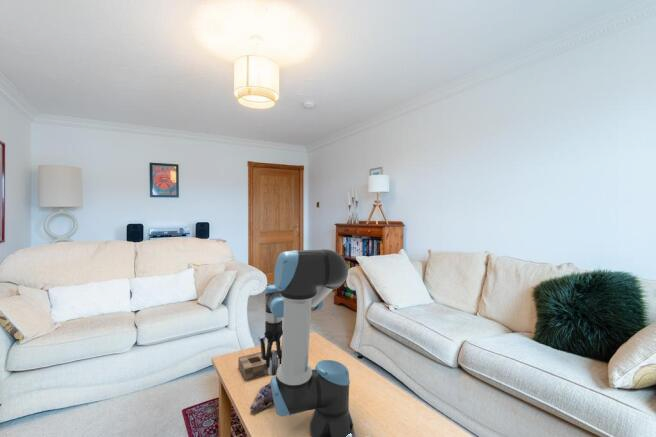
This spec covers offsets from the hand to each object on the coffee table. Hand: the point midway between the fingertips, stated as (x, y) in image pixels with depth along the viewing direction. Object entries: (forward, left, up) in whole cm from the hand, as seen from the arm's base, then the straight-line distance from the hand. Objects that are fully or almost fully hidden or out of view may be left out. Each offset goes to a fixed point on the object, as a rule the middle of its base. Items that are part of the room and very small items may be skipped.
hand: (273, 372), depth 135 cm
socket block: (+13, +5, -4) cm, 14 cm away
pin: (0, 0, -1) cm, 1 cm away
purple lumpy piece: (-13, +9, -4) cm, 17 cm away
